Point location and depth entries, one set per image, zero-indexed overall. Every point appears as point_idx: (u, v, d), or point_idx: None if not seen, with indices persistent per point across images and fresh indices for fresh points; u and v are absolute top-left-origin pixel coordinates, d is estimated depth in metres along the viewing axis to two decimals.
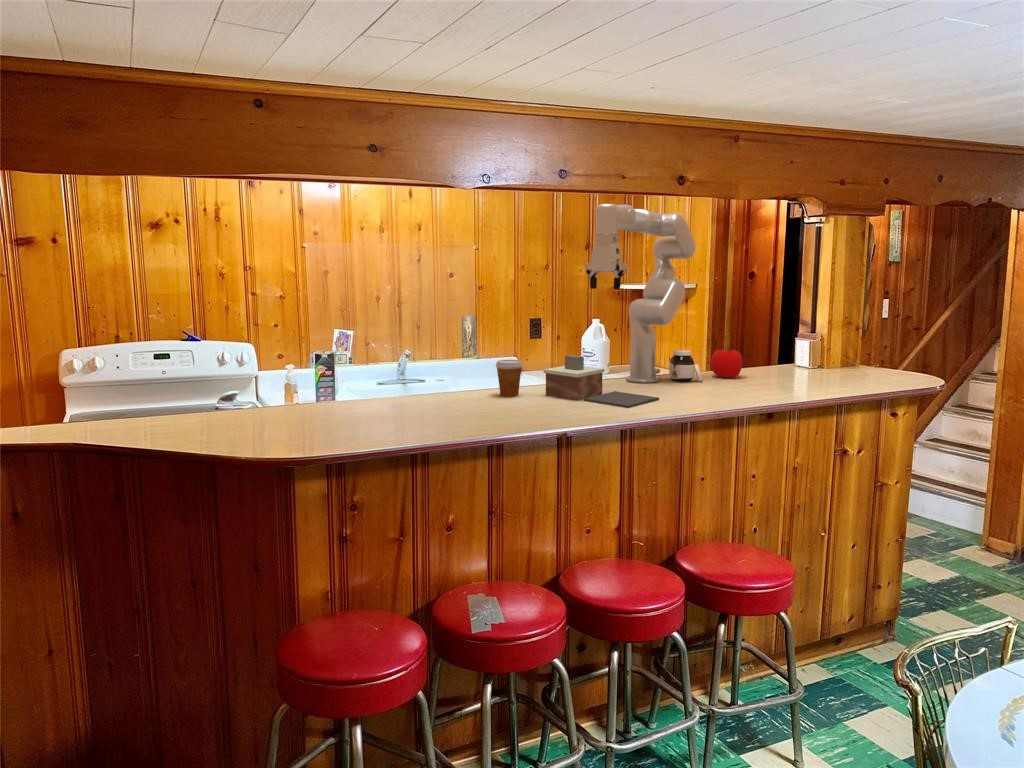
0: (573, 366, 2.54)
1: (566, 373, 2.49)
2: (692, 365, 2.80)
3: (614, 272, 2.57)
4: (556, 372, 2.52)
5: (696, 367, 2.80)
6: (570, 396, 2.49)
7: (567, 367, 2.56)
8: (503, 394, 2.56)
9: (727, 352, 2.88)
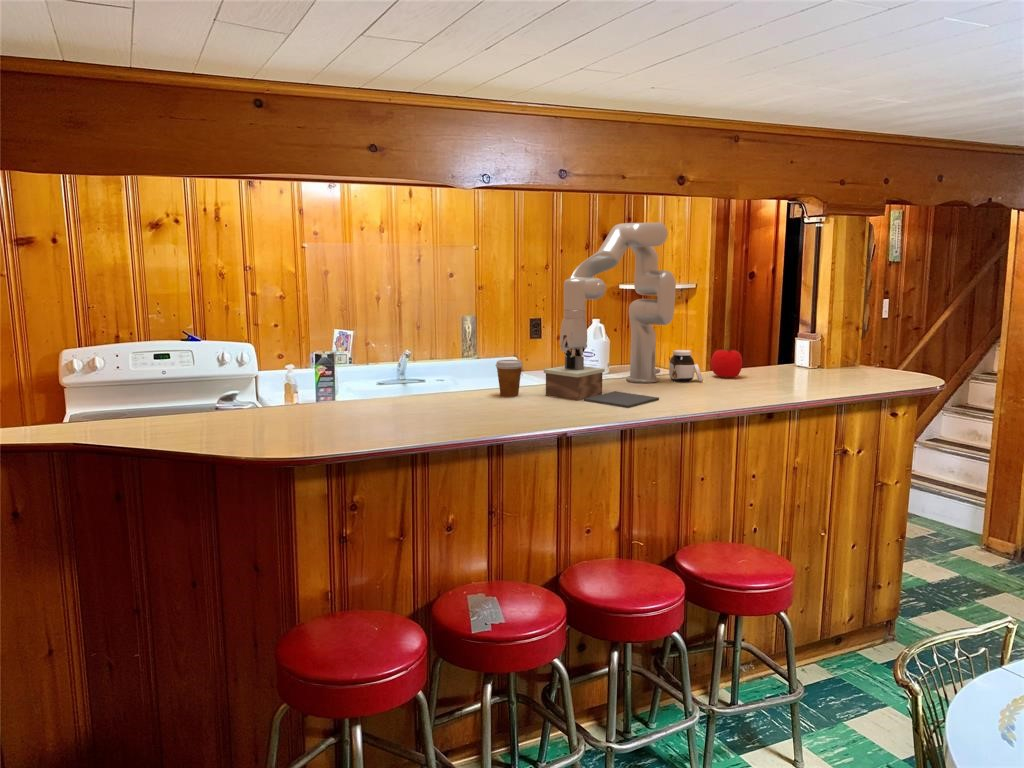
0: None
1: (566, 373, 2.49)
2: (692, 365, 2.80)
3: (581, 349, 2.56)
4: (556, 372, 2.52)
5: (696, 367, 2.80)
6: (570, 396, 2.49)
7: None
8: (503, 394, 2.56)
9: (727, 352, 2.88)
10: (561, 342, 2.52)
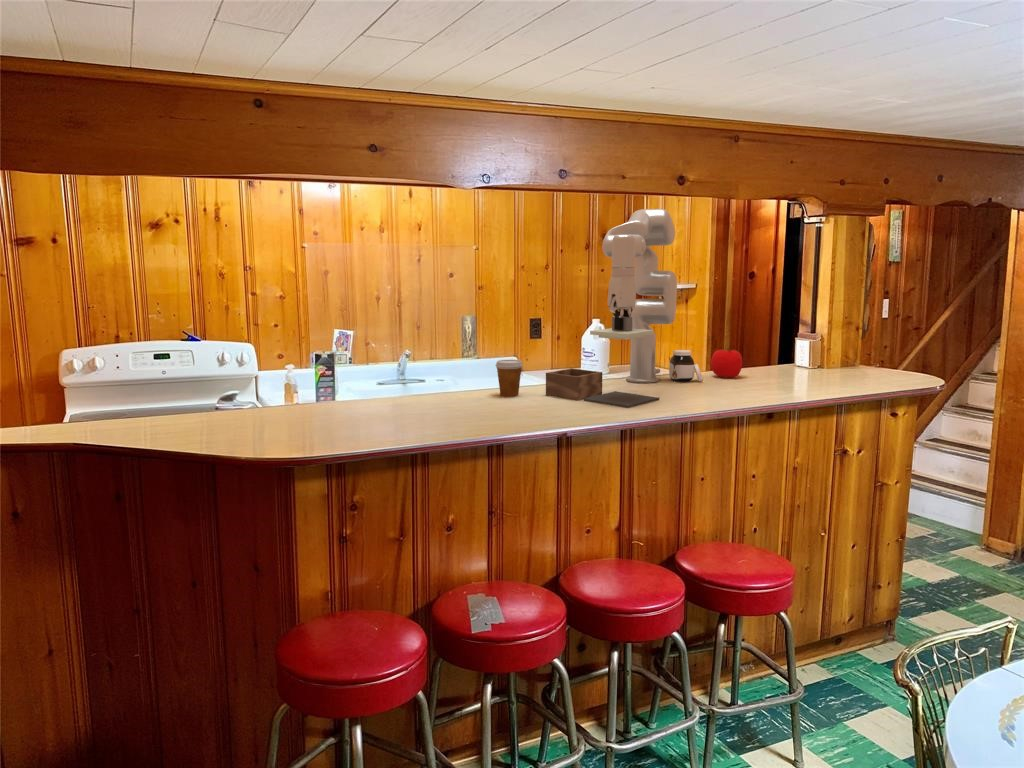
0: None
1: (615, 334, 2.36)
2: (692, 365, 2.80)
3: (630, 310, 2.43)
4: (604, 333, 2.39)
5: (696, 367, 2.80)
6: (570, 396, 2.49)
7: None
8: (503, 394, 2.56)
9: (727, 352, 2.88)
10: (609, 301, 2.39)
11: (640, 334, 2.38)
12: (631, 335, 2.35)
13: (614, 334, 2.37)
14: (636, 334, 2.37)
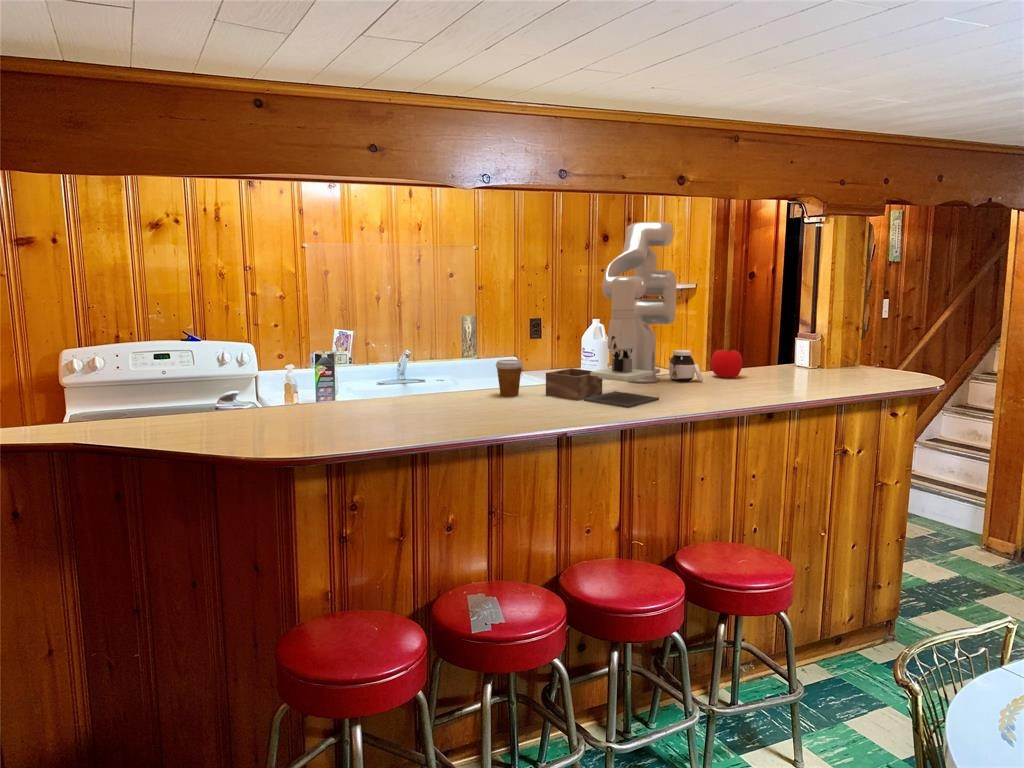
0: None
1: (615, 376, 2.38)
2: (692, 365, 2.80)
3: (629, 351, 2.45)
4: (604, 375, 2.41)
5: (696, 367, 2.80)
6: (570, 396, 2.49)
7: None
8: (503, 394, 2.56)
9: (727, 352, 2.88)
10: (609, 343, 2.41)
11: (640, 376, 2.40)
12: (631, 377, 2.37)
13: (614, 376, 2.39)
14: (636, 376, 2.39)
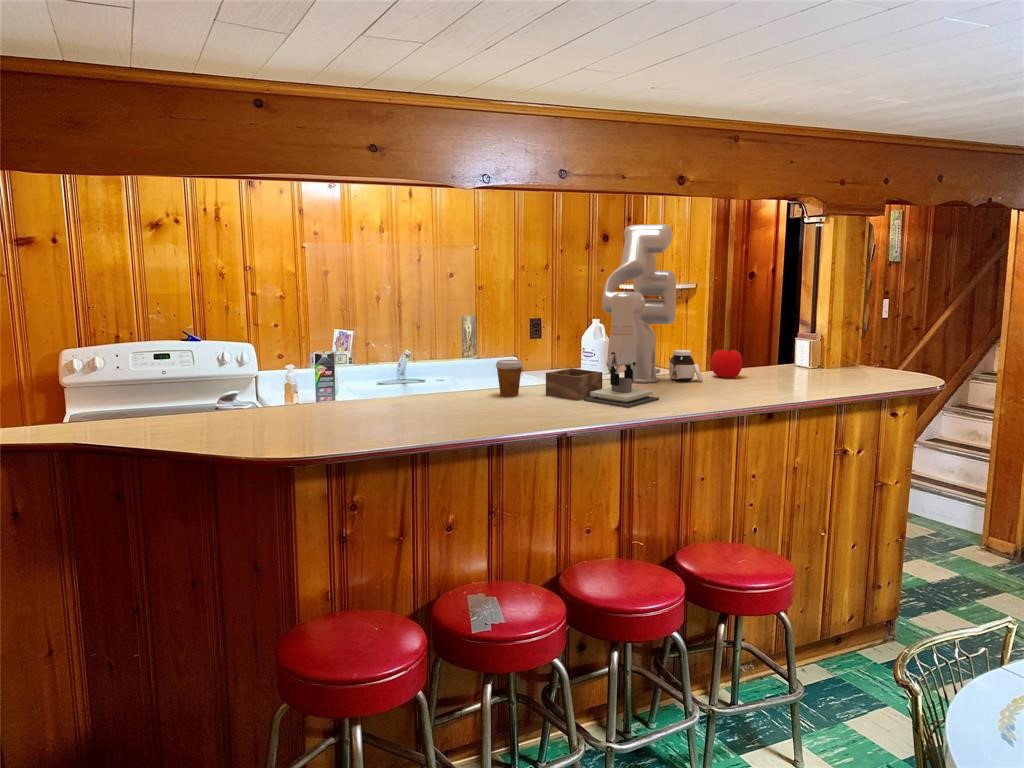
0: (620, 388, 2.45)
1: (614, 396, 2.40)
2: (692, 365, 2.80)
3: (632, 365, 2.47)
4: (603, 395, 2.43)
5: (696, 367, 2.80)
6: (570, 396, 2.49)
7: (614, 389, 2.47)
8: (503, 394, 2.56)
9: (727, 352, 2.88)
10: None
11: (639, 396, 2.42)
12: (630, 398, 2.38)
13: (614, 397, 2.40)
14: (635, 397, 2.40)
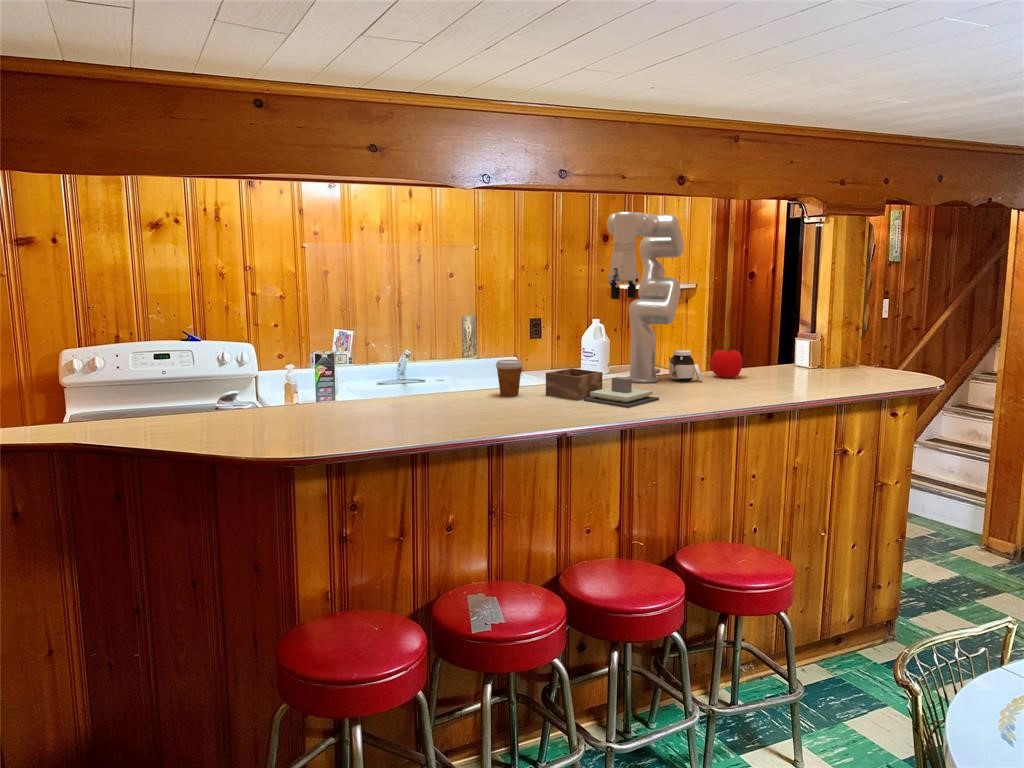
0: (620, 388, 2.45)
1: (614, 396, 2.40)
2: (692, 365, 2.80)
3: (634, 281, 2.58)
4: (603, 395, 2.43)
5: (696, 367, 2.80)
6: (570, 396, 2.49)
7: (614, 389, 2.47)
8: (503, 394, 2.56)
9: (727, 352, 2.88)
10: None
11: (639, 396, 2.42)
12: (630, 398, 2.38)
13: (614, 397, 2.40)
14: (635, 397, 2.40)
